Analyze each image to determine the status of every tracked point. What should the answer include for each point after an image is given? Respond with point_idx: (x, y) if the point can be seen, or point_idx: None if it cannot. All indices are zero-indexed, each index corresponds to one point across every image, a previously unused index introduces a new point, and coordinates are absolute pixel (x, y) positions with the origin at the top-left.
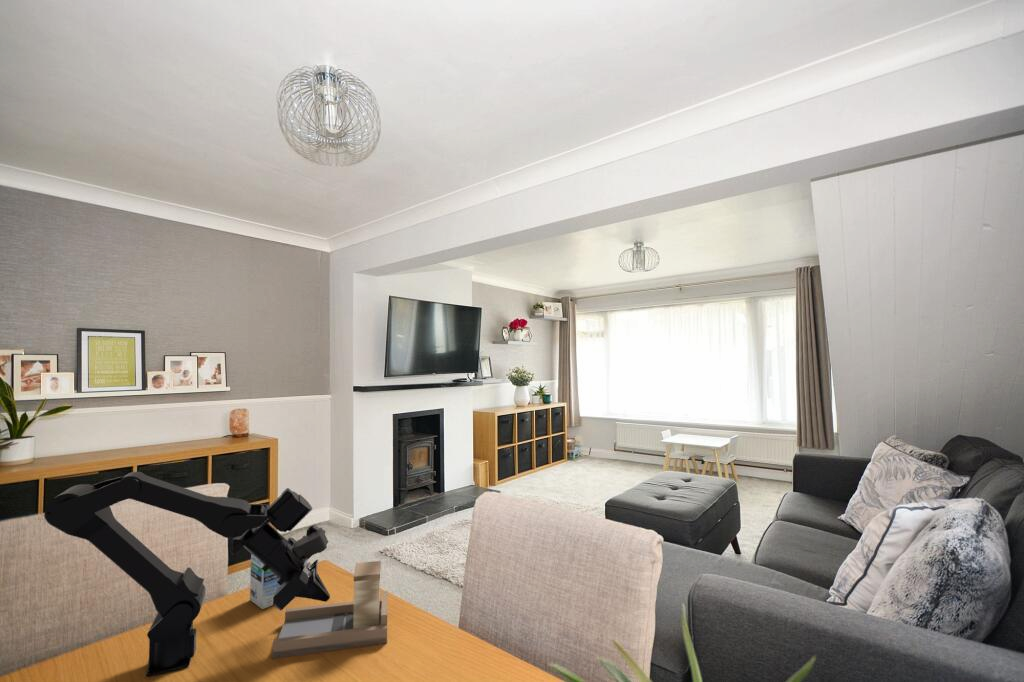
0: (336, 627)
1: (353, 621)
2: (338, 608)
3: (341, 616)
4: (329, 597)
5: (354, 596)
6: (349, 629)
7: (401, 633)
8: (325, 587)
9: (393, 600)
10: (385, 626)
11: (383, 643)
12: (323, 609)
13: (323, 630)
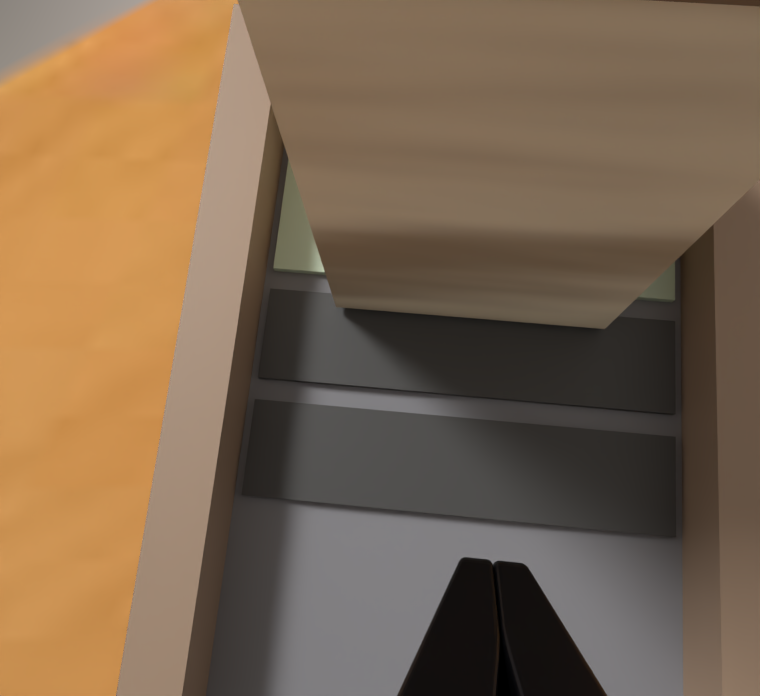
0: (486, 477)
1: (630, 302)
2: (226, 457)
3: (306, 432)
4: (523, 567)
5: (757, 173)
6: (720, 346)
7: None
8: (418, 664)
9: (115, 31)
10: None
11: None
12: (197, 617)
13: None
